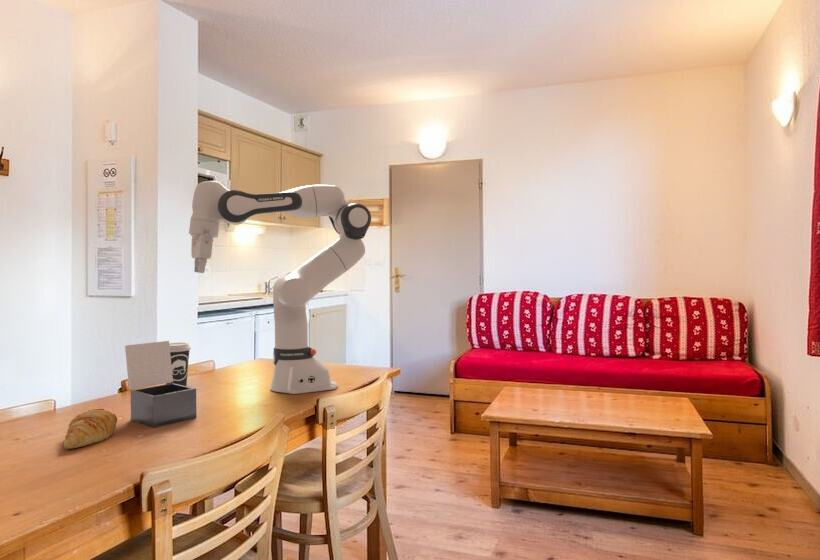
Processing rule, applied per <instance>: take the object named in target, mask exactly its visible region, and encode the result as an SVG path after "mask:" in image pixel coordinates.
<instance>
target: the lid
mask: <svg viewBox="0 0 820 560" xmlns="http://www.w3.org/2000/svg"><path fill="white" fill-rule="evenodd" d="M169 343H170V340H165V341H164V340H163V341H154V342H146V343H136V344H128V345H125V346H124V351H125V360H126V371H127V380H128V390H129V391H131V390H137V389H143V388H148V387H154V386H160V385H165V384H166V383H171V382H173V376H172V366H171V356H170V346H169Z"/></svg>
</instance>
